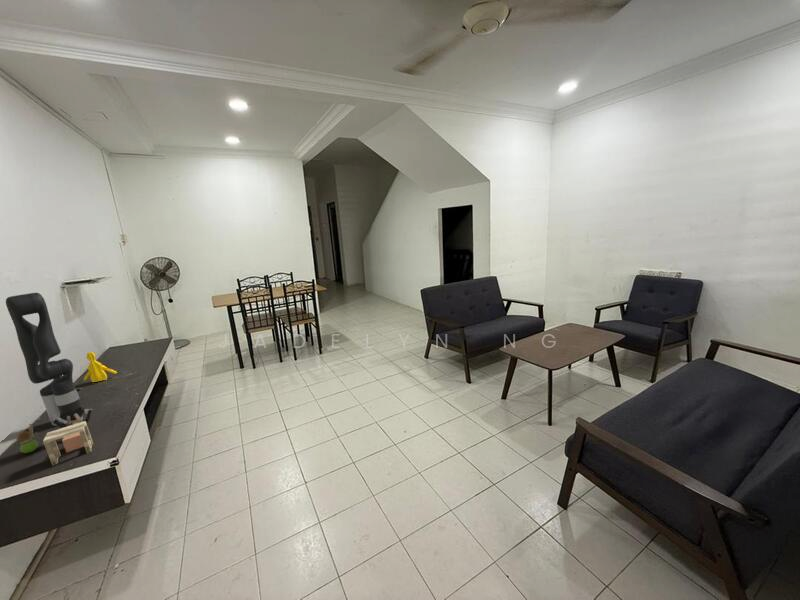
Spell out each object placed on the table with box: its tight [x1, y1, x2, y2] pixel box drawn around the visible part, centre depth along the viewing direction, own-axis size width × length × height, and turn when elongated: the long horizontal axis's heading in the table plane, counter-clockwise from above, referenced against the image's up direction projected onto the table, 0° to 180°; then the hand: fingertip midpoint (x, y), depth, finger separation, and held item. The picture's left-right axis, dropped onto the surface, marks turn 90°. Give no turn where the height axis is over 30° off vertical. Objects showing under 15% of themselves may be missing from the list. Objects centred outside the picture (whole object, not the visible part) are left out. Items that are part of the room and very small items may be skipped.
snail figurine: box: [17, 423, 39, 454], centre depth 142 cm, size 5×6×12 cm
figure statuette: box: [83, 351, 118, 383], centre depth 211 cm, size 18×8×22 cm, turn 117°
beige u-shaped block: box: [42, 421, 94, 466], centre depth 137 cm, size 8×12×12 cm, turn 129°
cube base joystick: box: [61, 420, 85, 453], centre depth 147 cm, size 15×6×8 cm, turn 39°
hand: (79, 432), depth 152 cm, fingers closed on cube base joystick, 3 cm apart
